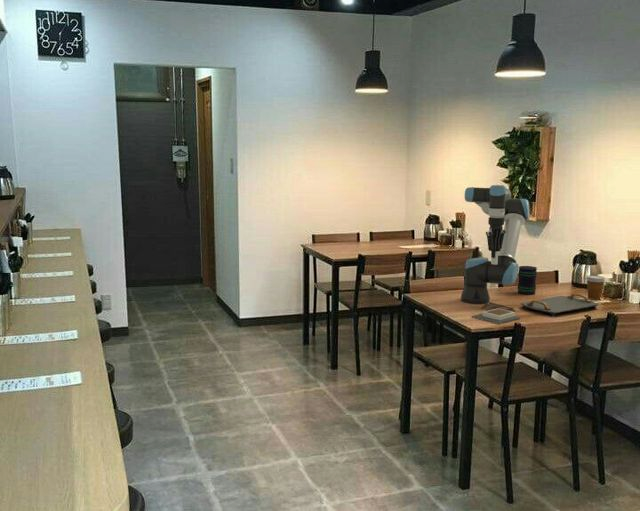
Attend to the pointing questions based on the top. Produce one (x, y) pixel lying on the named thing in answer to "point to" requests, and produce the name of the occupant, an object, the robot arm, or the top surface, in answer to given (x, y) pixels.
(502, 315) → the white picture frame
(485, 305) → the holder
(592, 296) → the disposable coffee cup
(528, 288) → the storage jar
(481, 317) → the rubber mat
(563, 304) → the serving board
